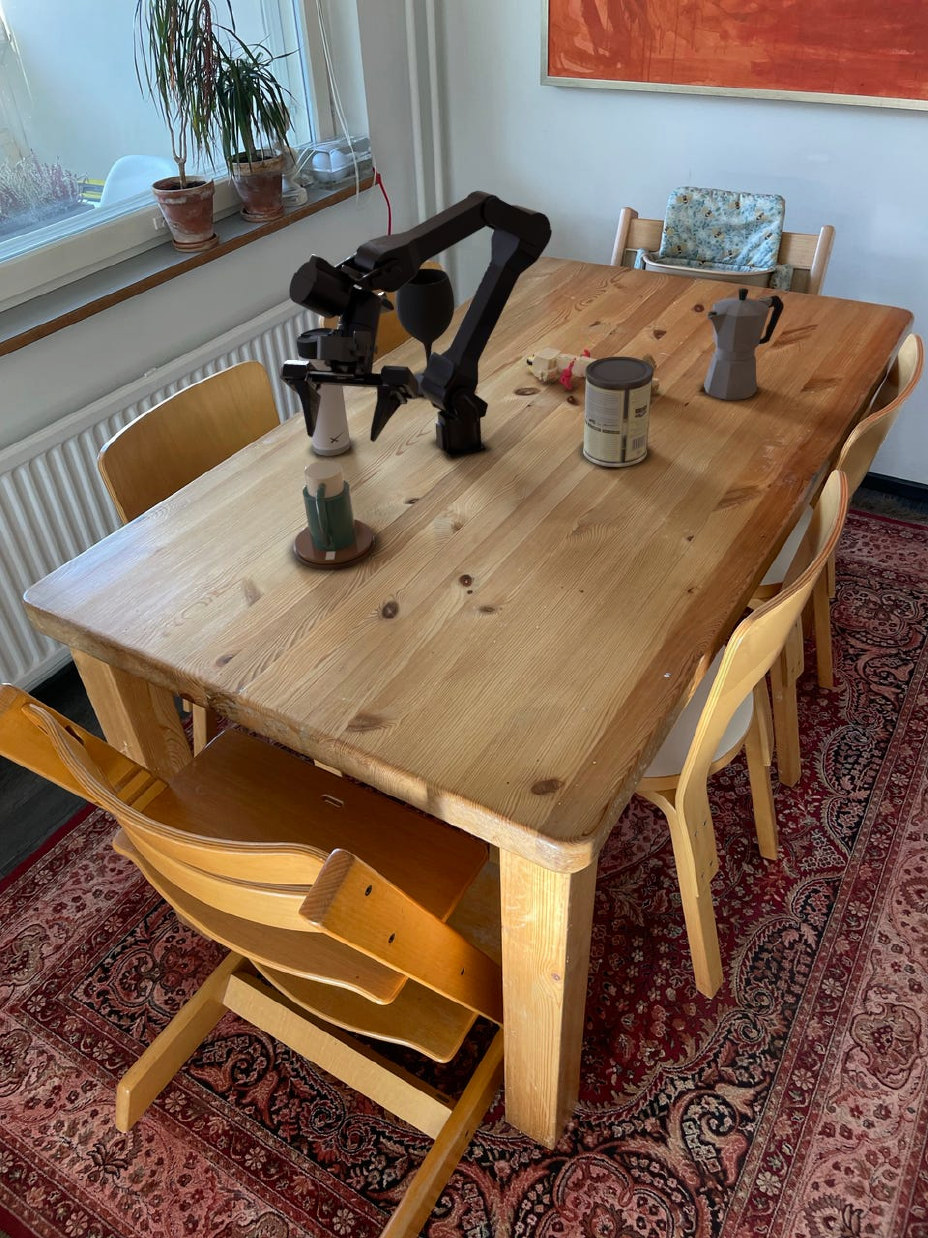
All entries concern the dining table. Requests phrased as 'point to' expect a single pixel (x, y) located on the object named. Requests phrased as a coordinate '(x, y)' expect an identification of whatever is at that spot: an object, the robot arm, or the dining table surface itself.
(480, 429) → the robot arm
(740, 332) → the coffeepot
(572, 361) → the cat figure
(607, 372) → the coffee can
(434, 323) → the wine glass
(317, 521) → the green cylinder with handle
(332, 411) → the travel mug
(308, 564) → the turntable
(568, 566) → the dining table surface
